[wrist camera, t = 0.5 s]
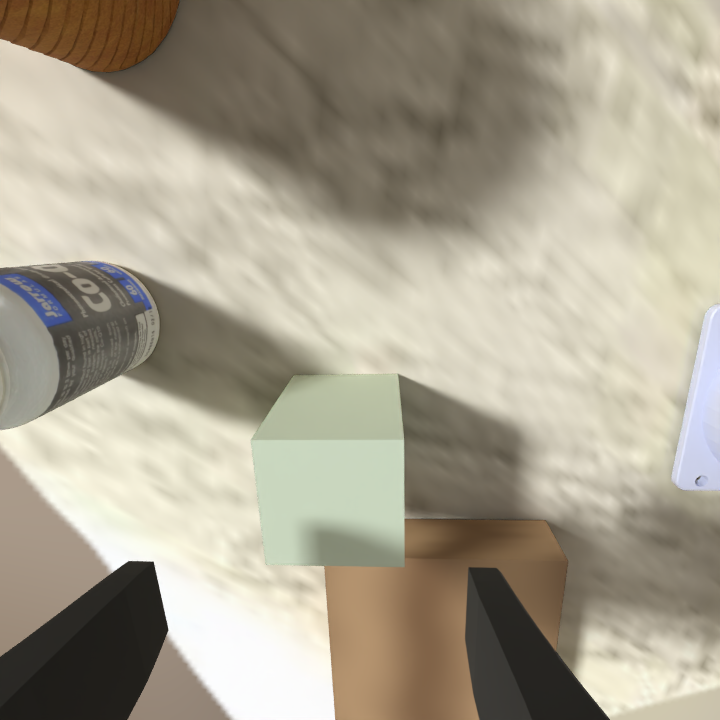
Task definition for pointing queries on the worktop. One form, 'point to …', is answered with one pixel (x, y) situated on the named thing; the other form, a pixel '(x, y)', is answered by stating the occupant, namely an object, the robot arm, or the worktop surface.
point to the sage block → (332, 472)
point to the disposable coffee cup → (89, 29)
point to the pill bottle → (68, 333)
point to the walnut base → (431, 615)
